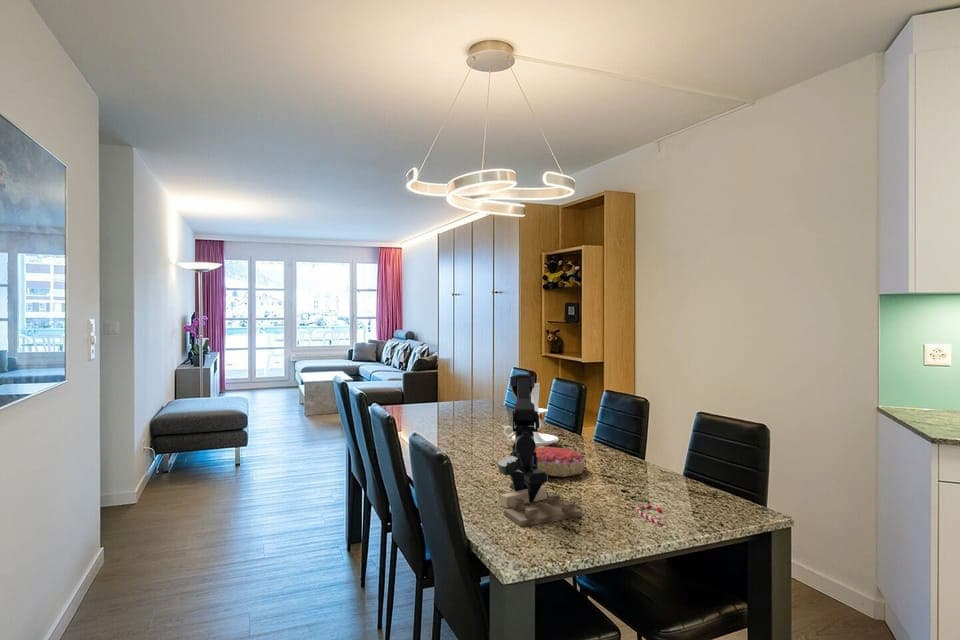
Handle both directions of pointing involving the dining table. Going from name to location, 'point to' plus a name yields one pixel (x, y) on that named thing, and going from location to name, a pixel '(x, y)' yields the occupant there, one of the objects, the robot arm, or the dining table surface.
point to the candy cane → (648, 516)
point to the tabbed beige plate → (542, 511)
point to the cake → (559, 461)
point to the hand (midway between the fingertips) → (524, 498)
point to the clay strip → (521, 496)
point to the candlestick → (538, 437)
